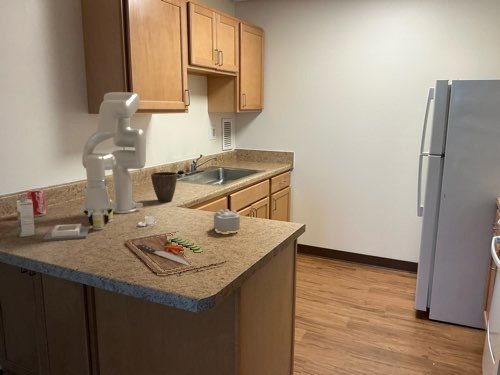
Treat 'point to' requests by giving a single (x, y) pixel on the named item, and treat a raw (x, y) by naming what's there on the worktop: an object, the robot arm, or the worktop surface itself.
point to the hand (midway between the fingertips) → (99, 223)
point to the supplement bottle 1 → (98, 219)
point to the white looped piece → (147, 221)
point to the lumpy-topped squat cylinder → (226, 220)
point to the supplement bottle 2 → (110, 214)
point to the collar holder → (66, 232)
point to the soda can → (37, 201)
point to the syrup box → (25, 217)
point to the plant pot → (164, 185)
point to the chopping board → (163, 251)
